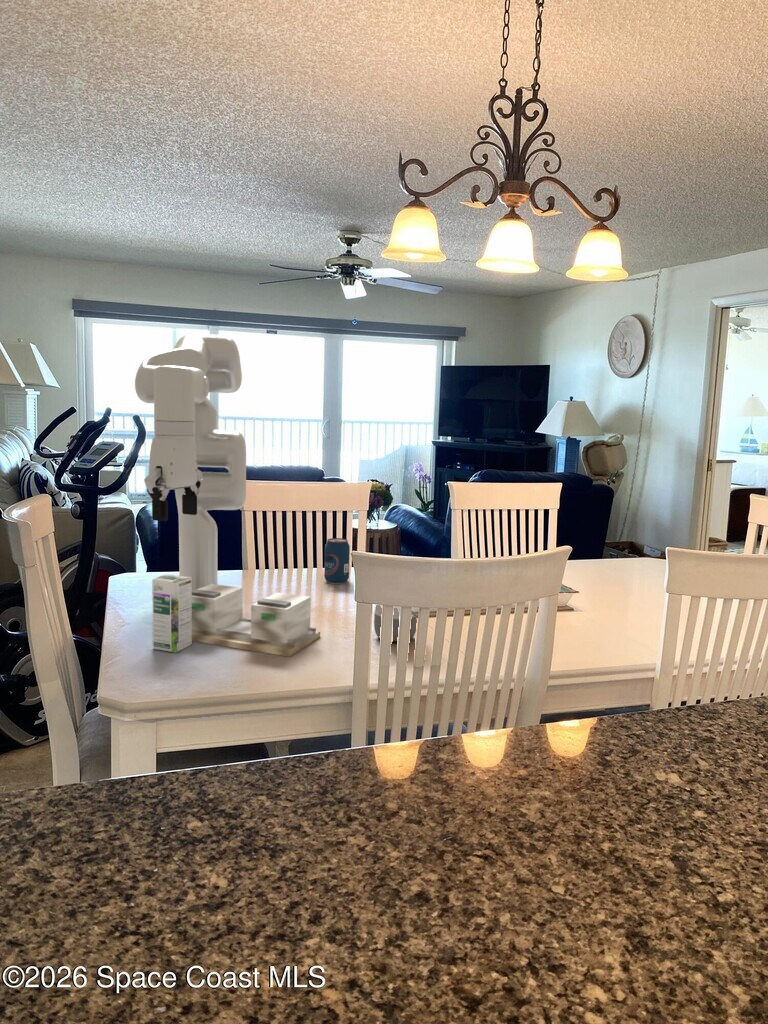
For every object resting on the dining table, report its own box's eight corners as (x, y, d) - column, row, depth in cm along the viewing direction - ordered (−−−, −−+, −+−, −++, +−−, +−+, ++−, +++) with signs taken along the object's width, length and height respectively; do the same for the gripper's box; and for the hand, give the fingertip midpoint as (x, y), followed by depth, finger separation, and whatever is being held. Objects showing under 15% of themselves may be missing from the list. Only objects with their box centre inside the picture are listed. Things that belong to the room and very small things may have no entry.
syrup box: (151, 649, 147) (150, 578, 145) (169, 641, 153) (168, 572, 151) (175, 653, 146) (174, 582, 143) (193, 644, 151) (192, 575, 149)
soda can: (319, 581, 207) (320, 539, 206) (334, 577, 213) (335, 536, 211) (338, 585, 203) (339, 543, 202) (353, 581, 209) (354, 539, 207)
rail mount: (171, 637, 155) (170, 593, 154) (208, 620, 168) (208, 579, 167) (289, 656, 146) (290, 609, 144) (320, 636, 159) (321, 593, 157)
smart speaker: (422, 644, 156) (424, 579, 154) (380, 646, 153) (382, 581, 151) (408, 630, 165) (410, 569, 163) (368, 633, 162) (370, 571, 160)
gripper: (184, 429, 153) (184, 510, 155) (129, 430, 137) (131, 521, 139) (215, 430, 150) (215, 513, 153) (163, 432, 134) (164, 525, 136)
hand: (175, 517), depth 146 cm, fingers open, 9 cm apart
